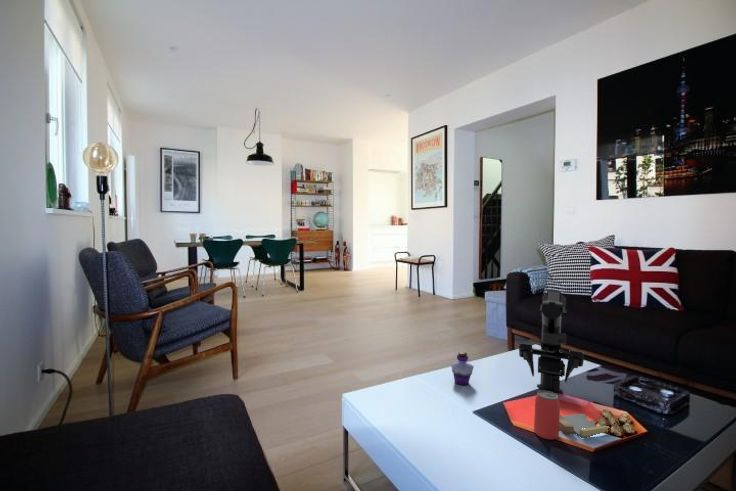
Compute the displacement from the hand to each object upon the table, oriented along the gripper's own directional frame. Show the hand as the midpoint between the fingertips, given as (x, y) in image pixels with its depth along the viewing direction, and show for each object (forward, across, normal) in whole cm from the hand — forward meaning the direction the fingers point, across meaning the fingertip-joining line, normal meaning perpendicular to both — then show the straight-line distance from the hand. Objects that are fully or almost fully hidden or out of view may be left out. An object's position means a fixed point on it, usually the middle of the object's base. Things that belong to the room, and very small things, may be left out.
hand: (549, 378), depth 116 cm
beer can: (+16, 0, +4) cm, 16 cm away
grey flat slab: (+9, +10, +10) cm, 17 cm away
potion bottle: (-1, -30, +21) cm, 37 cm away
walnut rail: (+10, +3, +9) cm, 14 cm away
